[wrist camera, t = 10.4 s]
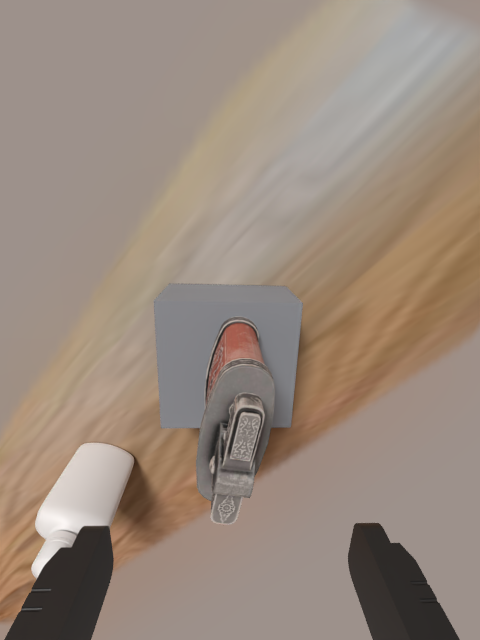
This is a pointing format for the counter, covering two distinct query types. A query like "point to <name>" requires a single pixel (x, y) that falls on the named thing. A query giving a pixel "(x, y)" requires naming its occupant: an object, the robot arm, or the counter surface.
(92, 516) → the eye dropper bottle
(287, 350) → the pedestal block
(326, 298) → the counter surface
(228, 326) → the lighter
